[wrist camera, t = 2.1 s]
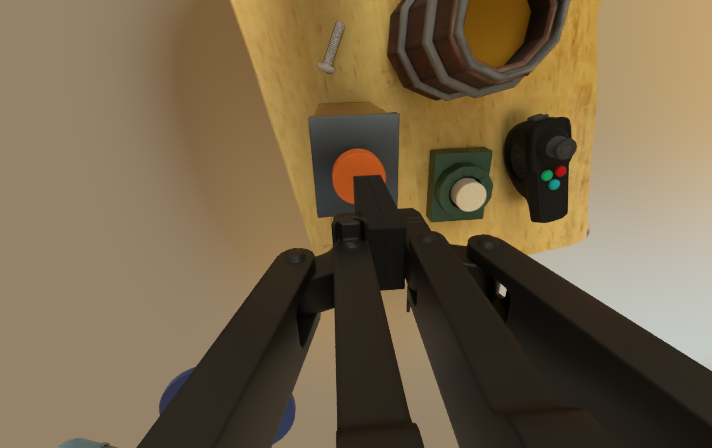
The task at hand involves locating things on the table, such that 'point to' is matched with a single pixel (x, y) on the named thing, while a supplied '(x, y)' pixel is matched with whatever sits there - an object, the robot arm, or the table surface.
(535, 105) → the table surface
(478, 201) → the button far
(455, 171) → the switch far
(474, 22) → the mug
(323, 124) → the switch near
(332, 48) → the screw
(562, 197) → the controller
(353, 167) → the button near
